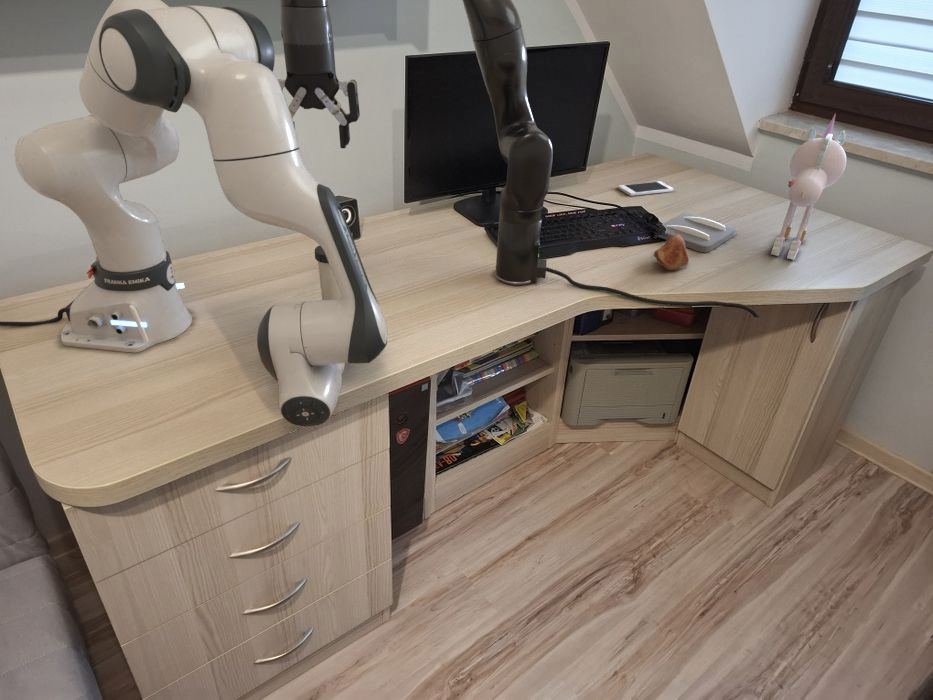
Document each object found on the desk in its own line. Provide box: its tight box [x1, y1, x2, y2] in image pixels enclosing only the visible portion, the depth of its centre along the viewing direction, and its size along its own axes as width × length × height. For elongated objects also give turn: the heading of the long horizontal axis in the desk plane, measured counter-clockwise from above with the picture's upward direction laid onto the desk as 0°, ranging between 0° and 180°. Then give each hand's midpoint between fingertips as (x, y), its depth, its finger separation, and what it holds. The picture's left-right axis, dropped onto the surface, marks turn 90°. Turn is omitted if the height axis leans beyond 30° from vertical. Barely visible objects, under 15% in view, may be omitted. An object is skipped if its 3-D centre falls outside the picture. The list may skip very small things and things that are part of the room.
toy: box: [770, 112, 847, 261], centre depth 159 cm, size 12×36×30 cm, turn 148°
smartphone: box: [617, 180, 674, 197], centre depth 196 cm, size 7×16×1 cm, turn 111°
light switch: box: [654, 212, 737, 253], centre depth 167 cm, size 18×3×15 cm
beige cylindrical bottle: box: [317, 261, 342, 300], centre depth 121 cm, size 4×4×16 cm
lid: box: [314, 244, 329, 263], centre depth 117 cm, size 5×5×2 cm
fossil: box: [653, 234, 690, 271], centre depth 150 cm, size 13×8×10 cm
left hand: (328, 310), depth 117 cm, fingers open, 8 cm apart
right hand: (318, 146), depth 106 cm, fingers open, 8 cm apart
